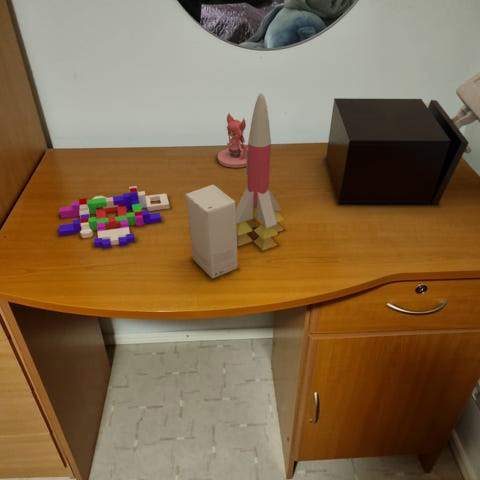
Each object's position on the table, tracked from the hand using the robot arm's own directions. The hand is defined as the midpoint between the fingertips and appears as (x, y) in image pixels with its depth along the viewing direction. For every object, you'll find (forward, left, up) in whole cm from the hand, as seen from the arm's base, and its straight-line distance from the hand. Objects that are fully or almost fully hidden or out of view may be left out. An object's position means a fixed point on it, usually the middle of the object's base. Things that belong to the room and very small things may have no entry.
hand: (452, 125), depth 114 cm
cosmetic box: (+56, +35, -15) cm, 67 cm away
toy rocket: (+47, +24, -14) cm, 54 cm away
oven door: (+2, 0, -14) cm, 15 cm away
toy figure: (+52, -11, -15) cm, 55 cm away
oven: (+16, 0, -14) cm, 21 cm away
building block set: (+79, +19, -14) cm, 82 cm away
